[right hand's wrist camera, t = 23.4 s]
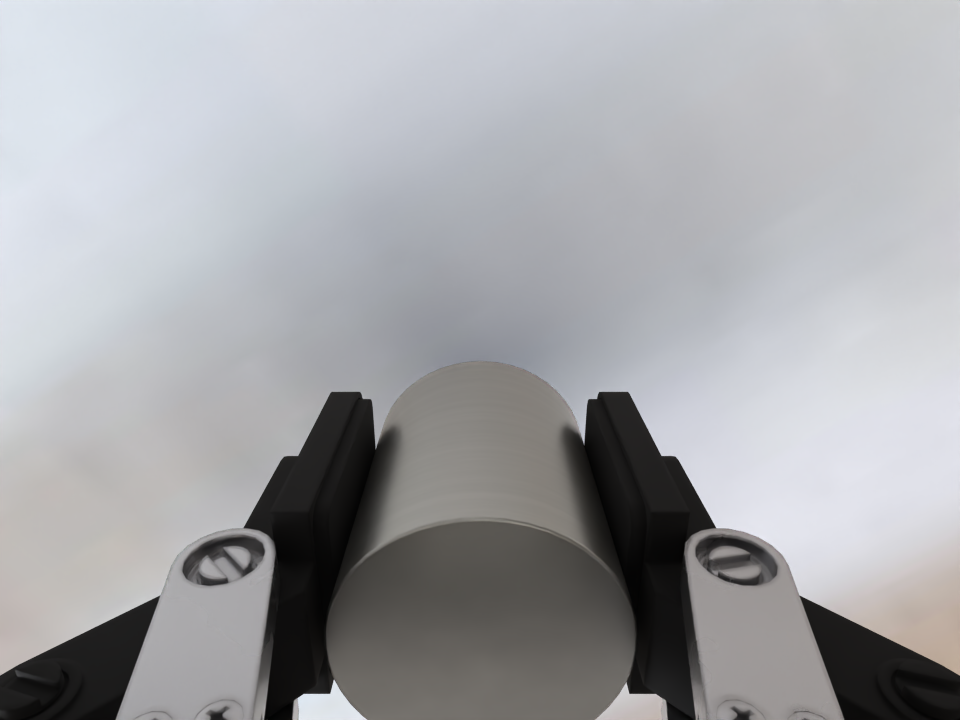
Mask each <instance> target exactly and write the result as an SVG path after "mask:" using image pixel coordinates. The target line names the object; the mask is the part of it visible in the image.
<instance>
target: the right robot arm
mask: <svg viewBox="0 0 960 720" xmlns="http://www.w3.org/2000/svg"><path fill="white" fill-rule="evenodd" d="M584 447H585V450H586V453H587V457H588V460H589V463H590V467H591V470H592V473H593V476H594V480H595V483H596V486H597V490H598V493H599V496H600V499H601V503H602V506H603V509H604V513H605V516H606V519H607V522H608V526H609V529H610V532H611V536H612V539H613V542H614V545H615V549H616V552H617V555H618V559H619V562H620V565H621V568H622V572H623V575H624V578H625V582H626V585H627V588H628V591H629V595H630V598H631V601H632V605H633V608H634V611H635V615H636V620H637V629H638V642H637V651H636V656H635V660H634V664H633V667H632V670H631V672H630V675H629V677H628V680H627V686H628V690H629V694H657V695H658V696H660V697H661V698H663V699H662V707H661V717H662V720H960V676H959V675H958V674H956V673H954V672H952V671H951V670H949V669H947V668H946V667H944V666H942V665H940V664H938V663H936V662H934V661H932V660H930V659H928V658H926V657H924V656H922V655H920V654H918V653H916V652H914V651H912V650H910V649H908V648H906V647H904V646H901V645H899V644H897V643H895V642H893V641H891V640H889V639H887V638H885V637H883V636H881V635H879V634H877V633H875V632H873V631H871V630H869V629H867V628H865V627H863V626H861V625H859V624H857V623H854V622H852V621H850V620H848V619H846V618H844V617H842V616H840V615H838V614H836V613H834V612H832V611H830V610H828V609H826V608H824V607H822V606H820V605H818V604H816V603H814V602H812V601H809V600H807V599H805V598H803V597H801V596H799V593H798V590H797V588H796V585H795V582H794V579H793V577H792V574H791V571H790V568H789V566H788V564H787V562H786V560H785V559H784V557H783V555H782V554H781V553H779V552H778V551H777V550H776V549H775V548H774V547H773V546H772V545H770V544H768V543H767V542H765V541H763V540H762V539H760V538H758V537H756V536H753V535H750V534H748V533H745V532H742V531H737V530H732V529H720V528H716V527H715V525H714V523H713V521H712V520H711V518H710V516H709V514H708V512H707V511H706V509H705V507H704V505H703V504H702V502H701V500H700V498H699V496H698V495H697V493H696V491H695V489H694V487H693V486H692V484H691V482H690V480H689V478H688V477H687V475H686V473H685V471H684V469H683V468H682V466H681V464H680V462H679V461H678V459H677V458H676V457H674V456H661V454H660V452H659V450H658V449H657V447H656V445H655V443H654V441H653V439H652V437H651V435H650V433H649V431H648V429H647V427H646V425H645V423H644V421H643V419H642V417H641V415H640V414H639V412H638V410H637V408H636V406H635V404H634V402H633V400H632V398H631V396H630V394H629V393H628V392H599V394H598V397H597V399H589V400H588V404H587V415H586V429H585V444H584ZM375 451H376V449H375V435H374V420H373V407H372V401H371V399H362V395H361V393H360V392H331V394H330V395H329V397H328V399H327V401H326V403H325V405H324V407H323V409H322V411H321V413H320V415H319V417H318V419H317V421H316V422H315V424H314V426H313V428H312V430H311V432H310V434H309V436H308V438H307V440H306V442H305V444H304V446H303V448H302V450H301V452H300V454H299V456H286V457H284V458H283V459H282V460H281V461H280V463H279V465H278V467H277V469H276V470H275V472H274V474H273V476H272V478H271V479H270V481H269V483H268V485H267V487H266V488H265V490H264V492H263V494H262V496H261V497H260V499H259V501H258V503H257V505H256V506H255V508H254V510H253V512H252V514H251V515H250V517H249V519H248V521H247V523H246V524H245V526H244V528H240V529H228V530H223V531H218V532H215V533H212V534H210V535H207V536H204V537H202V538H200V539H198V540H197V541H195V542H193V543H192V544H190V545H188V546H187V547H186V548H185V549H184V550H183V551H182V552H181V553H179V554H178V555H177V557H176V559H175V560H174V562H173V564H172V566H171V568H170V571H169V574H168V577H167V579H166V582H165V585H164V588H163V590H162V593H161V595H160V596H158V597H156V598H154V599H152V600H150V601H148V602H146V603H144V604H142V605H140V606H138V607H136V608H134V609H132V610H130V611H128V612H126V613H124V614H122V615H120V616H117V617H115V618H113V619H111V620H109V621H107V622H105V623H103V624H101V625H99V626H97V627H95V628H93V629H91V630H89V631H87V632H85V633H83V634H81V635H79V636H77V637H75V638H73V639H71V640H68V641H66V642H64V643H62V644H60V645H58V646H56V647H54V648H52V649H50V650H48V651H46V652H44V653H42V654H40V655H38V656H36V657H34V658H32V659H30V660H28V661H26V662H24V663H21V664H19V665H18V666H16V667H14V668H12V669H11V670H9V671H7V672H6V673H4V674H2V675H0V720H298V717H299V707H298V699H297V698H298V697H300V696H301V695H303V694H330V692H331V688H332V684H333V680H334V678H333V675H332V673H331V670H330V667H329V664H328V661H327V656H326V651H325V646H324V627H325V620H326V614H327V610H328V607H329V604H330V600H331V597H332V594H333V590H334V587H335V584H336V581H337V577H338V574H339V571H340V567H341V564H342V561H343V557H344V554H345V551H346V547H347V544H348V541H349V537H350V534H351V531H352V527H353V524H354V521H355V517H356V514H357V511H358V508H359V504H360V501H361V498H362V494H363V491H364V488H365V484H366V481H367V478H368V474H369V471H370V468H371V464H372V461H373V458H374V454H375Z"/></svg>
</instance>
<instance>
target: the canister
mask: <svg viewBox="0 0 960 720" xmlns="http://www.w3.org/2000/svg"><path fill="white" fill-rule="evenodd" d="M637 642H638V629H637V620H636V615H635V611H634V608H633V605H632V601H631V598H630V595H629V591H628V588H627V585H626V582H625V578H624V575H623V572H622V568H621V565H620V562H619V559H618V555H617V552H616V549H615V545H614V542H613V539H612V536H611V532H610V529H609V526H608V522H607V519H606V516H605V513H604V509H603V506H602V503H601V499H600V496H599V493H598V490H597V486H596V483H595V480H594V476H593V473H592V470H591V467H590V463H589V460H588V457H587V453H586V450H585V447H584V444H583V440H582V437H581V434H580V430H579V427H578V424H577V421H576V419H575V417H574V415H573V412H572V410H571V409H570V407H569V406H568V404H567V403H566V401H565V400H564V399H563V398H562V397H561V395H560V394H559V393H558V392H557V391H556V390H555V389H554V388H553V387H551V386H550V385H549V384H548V383H547V382H545V381H544V380H542V379H541V378H539V377H537V376H536V375H534V374H532V373H530V372H528V371H526V370H524V369H521V368H518V367H515V366H512V365H508V364H503V363H498V362H487V361H476V362H464V363H458V364H453V365H450V366H447V367H443V368H440V369H438V370H436V371H434V372H431V373H429V374H427V375H426V376H424V377H422V378H421V379H419V380H417V381H416V382H415V383H414V384H412V385H411V386H410V387H409V388H407V389H406V391H405V392H404V393H403V394H402V395H401V396H400V397H399V398H398V399H397V401H396V402H395V403H394V405H393V406H392V408H391V409H390V411H389V413H388V415H387V417H386V419H385V422H384V425H383V428H382V431H381V434H380V438H379V441H378V444H377V448H376V451H375V454H374V458H373V461H372V464H371V468H370V471H369V474H368V478H367V481H366V484H365V488H364V491H363V494H362V498H361V501H360V504H359V508H358V511H357V514H356V517H355V521H354V524H353V527H352V531H351V534H350V537H349V541H348V544H347V547H346V551H345V554H344V557H343V561H342V564H341V567H340V571H339V574H338V577H337V581H336V584H335V587H334V590H333V594H332V597H331V600H330V604H329V607H328V610H327V614H326V620H325V627H324V646H325V651H326V656H327V661H328V664H329V667H330V670H331V673H332V675H333V678H334V680H335V681H336V683H337V685H338V687H339V689H340V690H341V692H342V693H343V695H344V696H345V697H346V699H347V700H348V701H349V702H350V704H351V705H352V706H353V707H354V708H355V709H356V710H357V711H358V712H359V713H360V714H361V715H362V716H363V717H365V718H366V719H367V720H595V719H596V718H597V717H598V716H599V715H600V714H602V713H603V712H604V711H605V710H606V709H607V708H608V707H609V706H610V705H611V703H612V702H613V701H614V700H615V698H616V697H617V696H618V695H619V693H620V692H621V690H622V688H623V687H624V685H625V683H626V682H627V680H628V677H629V675H630V672H631V670H632V667H633V664H634V660H635V656H636V651H637Z"/></svg>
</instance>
